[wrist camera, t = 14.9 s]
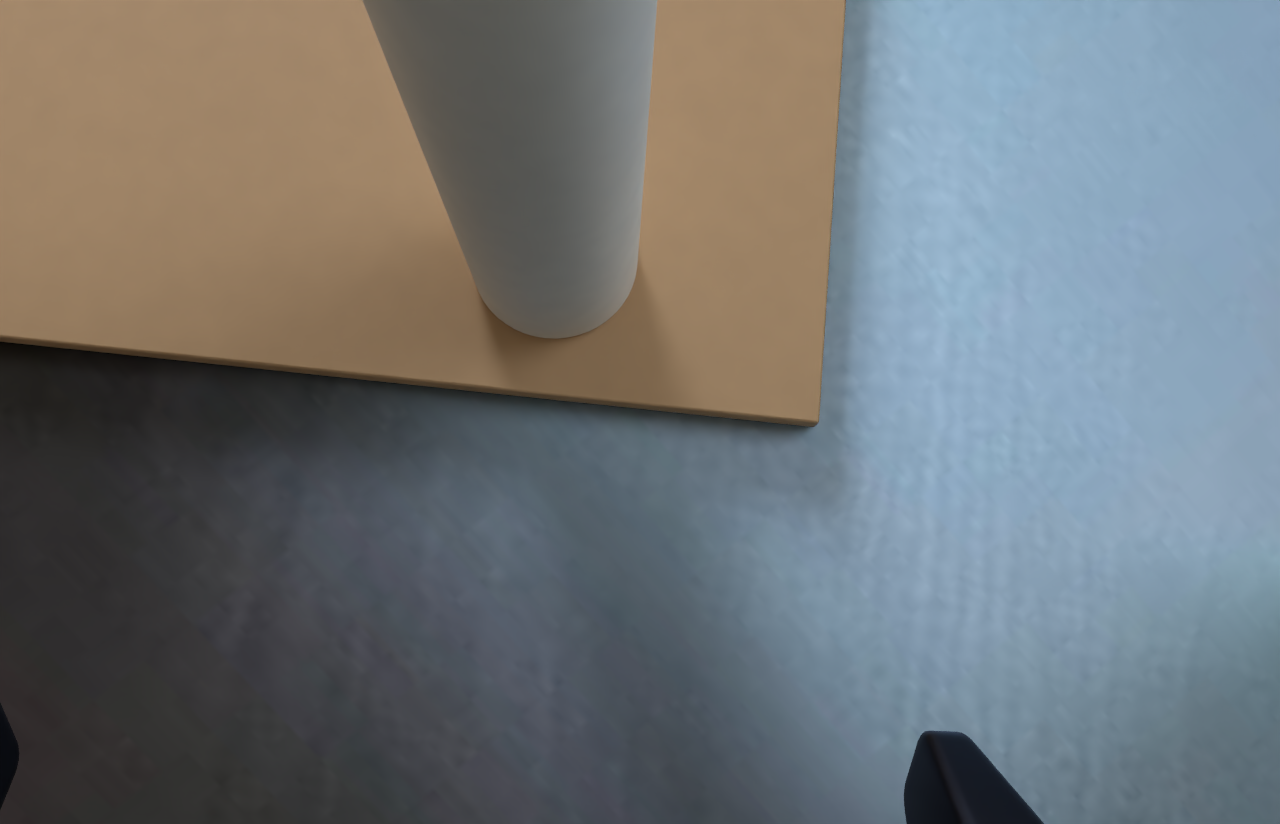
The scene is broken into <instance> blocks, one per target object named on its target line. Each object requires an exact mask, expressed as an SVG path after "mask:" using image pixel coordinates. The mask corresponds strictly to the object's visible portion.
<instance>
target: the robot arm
mask: <svg viewBox="0 0 1280 824" xmlns="http://www.w3.org/2000/svg"><path fill="white" fill-rule="evenodd" d="M18 761H19V747H18V743H17V740H16V738H15V736H14V733H13V731H12V729H11V726H10V724H9V722H8V719H7V717H6V715H5V712H4V710H3V708H2V705H1V703H0V809H1V807H2V804H3V802H4V799H5V797H6V795H7V792H8V790H9V787H10V785H11V782H12V780H13V777H14V775H15V772H16V769H17V765H18ZM904 806H905V815H906V822H907V824H1044V823H1043V822H1042V821H1041V820H1040V818H1039V817H1038V816H1037V815H1036V814H1035V813H1034V811H1033V810H1032V809H1031V808H1030V807H1029V806H1028V805H1027V803H1026V802H1025V801H1024V800H1023V799H1022V798H1021V796H1020V795H1019V794H1018V793H1017V792H1016V791H1015V790H1014V788H1013V787H1012V786H1011V785H1010V784H1009V783H1008V781H1007V780H1006V779H1005V778H1004V777H1003V776H1002V774H1001V773H1000V772H999V771H998V770H997V769H996V768H995V766H994V765H993V764H992V763H991V762H990V761H989V759H988V758H987V757H986V756H985V755H984V754H983V752H982V751H981V750H980V749H979V748H978V747H977V746H976V744H975V743H974V742H973V741H972V740H971V739H970V738H969V737H968V736H966V735H965V734H963V733H960V732H949V731H925V732H924V733H923V734H922V735H921V736H920V738H919V740H918V743H917V746H916V750H915V753H914V756H913V759H912V763H911V766H910V769H909V773H908V776H907V779H906V783H905V789H904Z"/></svg>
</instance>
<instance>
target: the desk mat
mask: <svg viewBox="0 0 1280 824" xmlns="http://www.w3.org/2000/svg"><path fill="white" fill-rule="evenodd" d="M845 7H846V0H657V11H656V25H655V38H654V51H653V64H652V78H651V91H650V104H649V117H648V131H647V144H646V157H645V170H644V184H643V197H642V210H641V223H640V237H639V250H638V263H637V271H636V277H635V280H634V284H633V287H632V289H631V291H630V293H629V295H628V297H627V299H626V300H625V302H624V303H623V305H622V306H621V307H620V308H619V310H618V311H617V312H616V313H615V314H614V315H613V316H612V317H611V318H610V319H608V320H607V321H606V322H604V323H603V324H601V325H600V326H598V327H597V328H595V329H593V330H591V331H589V332H586V333H583V334H580V335H577V336H573V337H568V338H558V339H554V338H541V337H535V336H531V335H528V334H525V333H522V332H520V331H518V330H515V329H513V328H512V327H510V326H508V325H507V324H505V323H504V322H503V321H501V320H500V319H499V318H498V317H496V315H495V314H494V313H493V312H492V311H491V310H490V309H489V308H488V306H487V305H486V304H485V302H484V301H483V299H482V297H481V296H480V294H479V292H478V289H477V287H476V284H475V282H474V279H473V277H472V274H471V272H470V269H469V267H468V264H467V262H466V259H465V257H464V254H463V252H462V249H461V247H460V244H459V242H458V239H457V237H456V234H455V232H454V229H453V227H452V224H451V222H450V219H449V217H448V214H447V212H446V209H445V206H444V204H443V201H442V199H441V196H440V194H439V191H438V189H437V186H436V184H435V181H434V179H433V176H432V174H431V171H430V169H429V166H428V164H427V161H426V159H425V156H424V154H423V151H422V149H421V146H420V144H419V141H418V139H417V136H416V134H415V131H414V129H413V126H412V124H411V121H410V119H409V116H408V114H407V111H406V109H405V106H404V103H403V101H402V98H401V96H400V93H399V91H398V88H397V86H396V83H395V81H394V78H393V76H392V73H391V71H390V68H389V66H388V63H387V61H386V58H385V56H384V53H383V51H382V48H381V46H380V43H379V41H378V38H377V36H376V33H375V31H374V28H373V26H372V23H371V21H370V18H369V16H368V13H367V11H366V8H365V6H364V3H363V0H0V342H10V343H19V344H29V345H38V346H48V347H57V348H67V349H76V350H86V351H95V352H105V353H114V354H124V355H133V356H143V357H152V358H162V359H171V360H181V361H190V362H200V363H209V364H219V365H228V366H238V367H247V368H257V369H266V370H276V371H285V372H295V373H305V374H314V375H324V376H333V377H343V378H352V379H362V380H371V381H381V382H390V383H400V384H409V385H419V386H428V387H438V388H447V389H457V390H466V391H476V392H485V393H495V394H504V395H514V396H523V397H533V398H542V399H552V400H561V401H571V402H580V403H590V404H599V405H609V406H618V407H628V408H637V409H647V410H656V411H666V412H676V413H685V414H695V415H704V416H714V417H723V418H733V419H742V420H752V421H761V422H771V423H780V424H790V425H799V426H809V427H814V426H815V425H816V424H818V422H819V412H820V397H821V381H822V366H823V350H824V334H825V319H826V303H827V288H828V272H829V256H830V241H831V225H832V209H833V194H834V178H835V163H836V147H837V131H838V116H839V100H840V85H841V69H842V53H843V38H844V22H845Z"/></svg>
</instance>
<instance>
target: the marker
mask: <svg viewBox="0 0 1280 824" xmlns="http://www.w3.org/2000/svg"><path fill="white" fill-rule="evenodd" d="M363 3H364V6H365V8H366V11H367V13H368V16H369V18H370V21H371V23H372V26H373V28H374V31H375V33H376V36H377V38H378V41H379V43H380V46H381V48H382V51H383V53H384V56H385V58H386V61H387V63H388V66H389V68H390V71H391V73H392V76H393V78H394V81H395V83H396V86H397V88H398V91H399V93H400V96H401V98H402V101H403V103H404V106H405V109H406V111H407V114H408V116H409V119H410V121H411V124H412V126H413V129H414V131H415V134H416V136H417V139H418V141H419V144H420V146H421V149H422V151H423V154H424V156H425V159H426V161H427V164H428V166H429V169H430V171H431V174H432V176H433V179H434V181H435V184H436V186H437V189H438V191H439V194H440V196H441V199H442V201H443V204H444V206H445V209H446V212H447V214H448V217H449V219H450V222H451V224H452V227H453V229H454V232H455V234H456V237H457V239H458V242H459V244H460V247H461V249H462V252H463V254H464V257H465V259H466V262H467V264H468V267H469V269H470V272H471V274H472V277H473V279H474V282H475V284H476V287H477V289H478V292H479V294H480V296H481V297H482V299H483V301H484V302H485V304H486V305H487V306H488V308H489V309H490V310H491V311H492V312H493V313H494V314H495V315H496V317H498V318H499V319H500V320H501V321H503V322H504V323H505V324H507V325H508V326H510V327H512V328H513V329H515V330H518V331H520V332H522V333H525V334H528V335H531V336H535V337H541V338H554V339H558V338H568V337H573V336H577V335H580V334H583V333H586V332H589V331H591V330H593V329H595V328H597V327H598V326H600V325H601V324H603V323H604V322H606V321H607V320H608V319H610V318H611V317H612V316H613V315H614V314H615V313H616V312H617V311H618V310H619V308H620V307H621V306H622V305H623V303H624V302H625V300H626V299H627V297H628V295H629V293H630V291H631V289H632V287H633V284H634V280H635V277H636V271H637V263H638V250H639V237H640V223H641V210H642V197H643V184H644V170H645V157H646V144H647V131H648V117H649V104H650V91H651V78H652V64H653V51H654V38H655V25H656V11H657V0H363Z"/></svg>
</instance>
